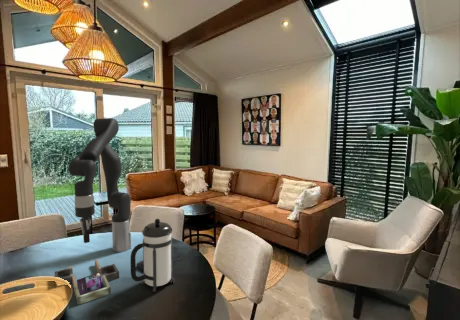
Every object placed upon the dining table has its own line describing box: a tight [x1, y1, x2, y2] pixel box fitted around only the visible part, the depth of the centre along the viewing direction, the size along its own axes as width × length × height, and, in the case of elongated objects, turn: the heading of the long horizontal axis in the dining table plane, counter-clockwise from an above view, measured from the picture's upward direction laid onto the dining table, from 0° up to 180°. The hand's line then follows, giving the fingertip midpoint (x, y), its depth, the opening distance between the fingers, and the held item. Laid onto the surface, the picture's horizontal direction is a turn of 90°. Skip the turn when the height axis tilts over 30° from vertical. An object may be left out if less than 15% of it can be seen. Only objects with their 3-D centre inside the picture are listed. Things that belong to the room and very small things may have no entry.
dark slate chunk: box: [136, 248, 182, 272], centre depth 135 cm, size 15×22×5 cm
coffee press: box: [130, 218, 176, 293], centre depth 114 cm, size 17×16×30 cm
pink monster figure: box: [76, 272, 103, 295], centre depth 111 cm, size 7×5×9 cm
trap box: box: [54, 258, 120, 305], centre depth 117 cm, size 24×30×3 cm
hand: (86, 242), depth 116 cm, fingers closed
